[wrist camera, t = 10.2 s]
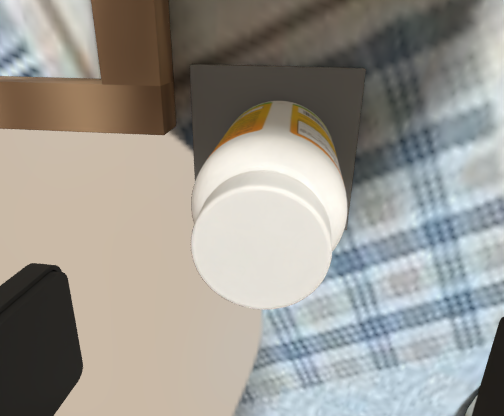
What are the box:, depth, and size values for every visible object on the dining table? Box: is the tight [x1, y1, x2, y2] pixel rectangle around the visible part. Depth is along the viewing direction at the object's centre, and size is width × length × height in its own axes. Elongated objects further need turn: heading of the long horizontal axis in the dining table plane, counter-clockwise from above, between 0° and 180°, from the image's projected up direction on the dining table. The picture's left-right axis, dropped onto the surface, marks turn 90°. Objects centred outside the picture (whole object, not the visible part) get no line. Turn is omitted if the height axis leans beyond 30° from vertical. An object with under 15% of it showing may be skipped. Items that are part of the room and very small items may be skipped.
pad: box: [190, 64, 366, 230], centre depth 20 cm, size 8×8×1 cm
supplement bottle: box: [191, 101, 347, 309], centre depth 16 cm, size 5×5×10 cm
